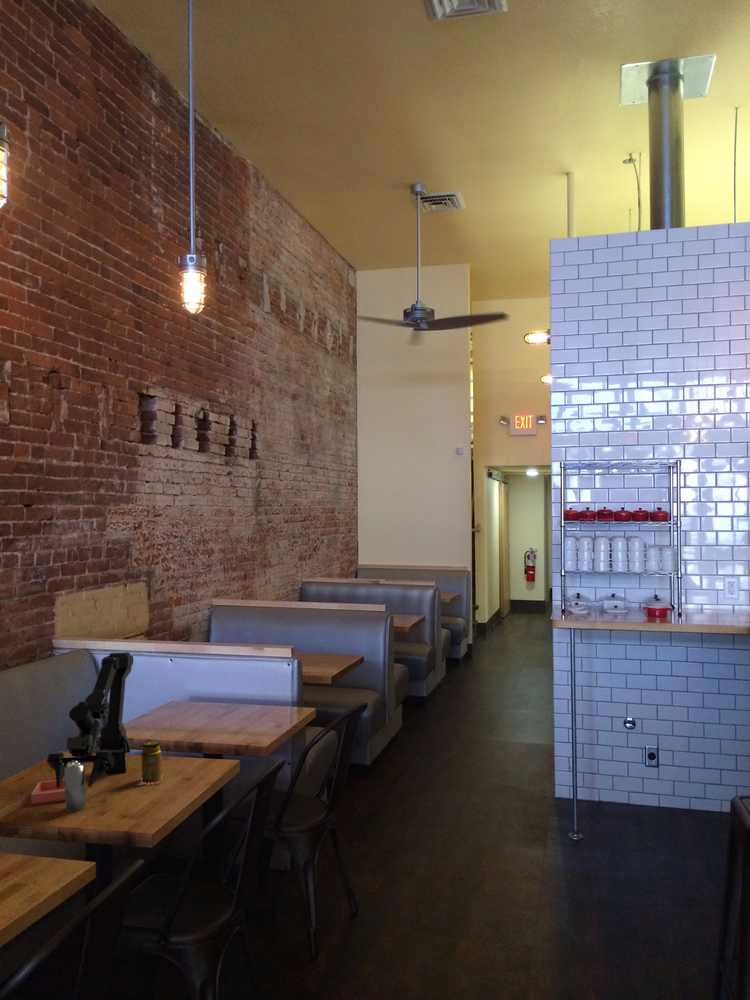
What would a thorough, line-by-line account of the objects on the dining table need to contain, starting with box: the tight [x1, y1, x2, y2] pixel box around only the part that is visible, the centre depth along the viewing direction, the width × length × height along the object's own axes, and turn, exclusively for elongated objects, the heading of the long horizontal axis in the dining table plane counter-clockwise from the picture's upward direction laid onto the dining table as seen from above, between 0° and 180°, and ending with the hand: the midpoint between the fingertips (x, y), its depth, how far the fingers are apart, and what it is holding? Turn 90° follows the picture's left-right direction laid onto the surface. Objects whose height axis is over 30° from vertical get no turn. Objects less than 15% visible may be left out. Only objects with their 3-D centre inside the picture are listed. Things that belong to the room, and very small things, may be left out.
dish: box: [30, 778, 66, 806], centre depth 240 cm, size 12×12×3 cm
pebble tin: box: [64, 760, 87, 813], centre depth 229 cm, size 6×6×14 cm
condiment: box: [136, 740, 163, 786], centre depth 250 cm, size 7×8×12 cm
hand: (73, 787), depth 228 cm, fingers open, 9 cm apart
